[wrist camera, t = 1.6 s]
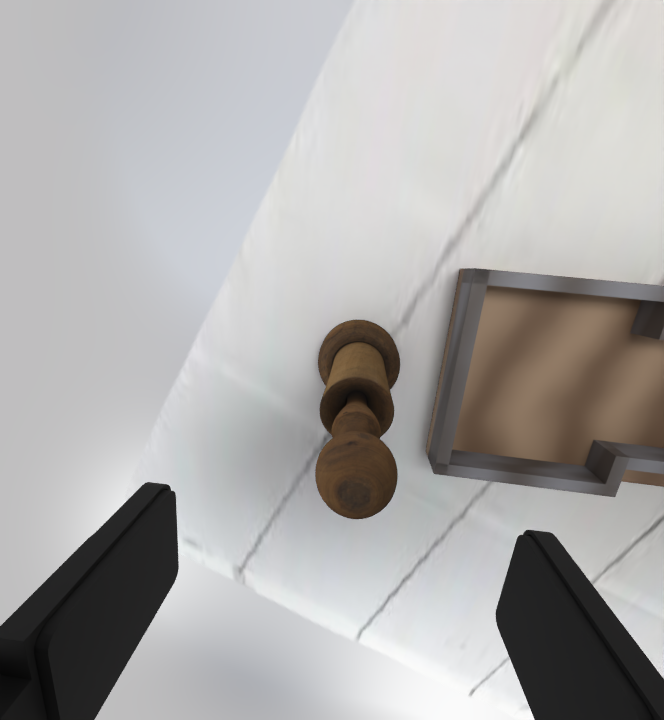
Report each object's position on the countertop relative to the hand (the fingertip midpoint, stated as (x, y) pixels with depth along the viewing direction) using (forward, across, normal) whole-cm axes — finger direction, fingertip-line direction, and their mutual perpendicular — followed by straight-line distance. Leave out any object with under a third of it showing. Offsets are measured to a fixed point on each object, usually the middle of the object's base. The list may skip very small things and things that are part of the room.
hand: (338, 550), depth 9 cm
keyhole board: (+20, -20, 0) cm, 28 cm away
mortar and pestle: (+20, -1, 0) cm, 20 cm away
